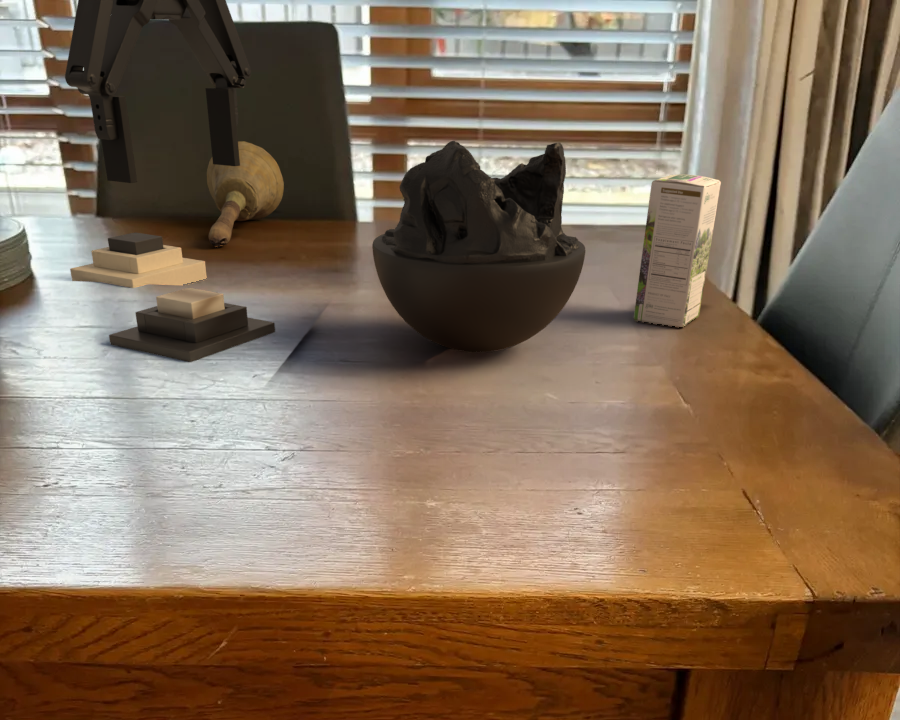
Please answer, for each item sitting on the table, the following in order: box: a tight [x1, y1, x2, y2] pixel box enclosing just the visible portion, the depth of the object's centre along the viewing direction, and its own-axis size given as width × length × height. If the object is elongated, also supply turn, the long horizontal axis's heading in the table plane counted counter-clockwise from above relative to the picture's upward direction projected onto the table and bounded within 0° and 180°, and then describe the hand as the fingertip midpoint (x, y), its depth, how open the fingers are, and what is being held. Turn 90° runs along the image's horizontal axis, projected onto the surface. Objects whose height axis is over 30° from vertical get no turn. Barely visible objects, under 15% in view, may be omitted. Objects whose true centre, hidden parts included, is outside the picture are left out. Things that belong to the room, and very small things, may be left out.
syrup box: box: [633, 173, 722, 328], centre depth 104 cm, size 6×6×14 cm
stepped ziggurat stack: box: [69, 244, 208, 289], centre depth 117 cm, size 12×10×4 cm
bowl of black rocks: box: [371, 140, 586, 353], centre depth 92 cm, size 20×20×19 cm
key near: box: [155, 287, 225, 319], centre depth 92 cm, size 4×4×2 cm
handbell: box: [206, 140, 285, 247], centre depth 143 cm, size 12×12×25 cm
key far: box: [107, 232, 164, 255], centre depth 115 cm, size 4×4×2 cm
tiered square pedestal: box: [108, 302, 276, 363], centre depth 93 cm, size 12×10×4 cm
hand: (177, 173), depth 89 cm, fingers open, 13 cm apart
